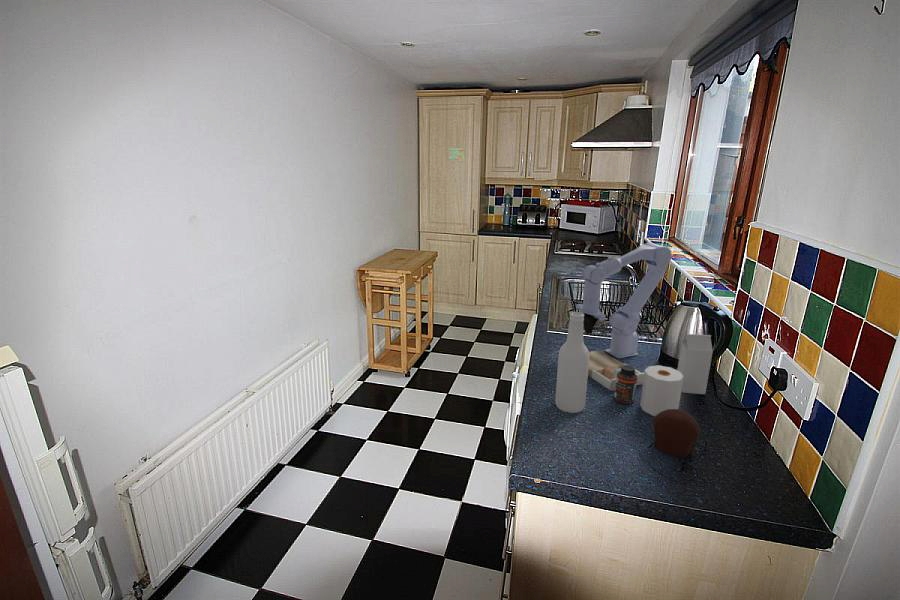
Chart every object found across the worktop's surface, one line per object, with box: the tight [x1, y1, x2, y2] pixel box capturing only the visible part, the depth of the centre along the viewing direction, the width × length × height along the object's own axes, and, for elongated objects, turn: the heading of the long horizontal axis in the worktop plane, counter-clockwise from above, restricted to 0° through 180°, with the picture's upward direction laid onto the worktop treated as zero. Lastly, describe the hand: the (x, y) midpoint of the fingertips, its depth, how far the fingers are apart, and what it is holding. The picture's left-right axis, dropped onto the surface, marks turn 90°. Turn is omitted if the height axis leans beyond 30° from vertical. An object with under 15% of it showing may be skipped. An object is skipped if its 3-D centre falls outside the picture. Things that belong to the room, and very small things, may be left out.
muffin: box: [651, 408, 702, 458], centre depth 116 cm, size 12×11×10 cm
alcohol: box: [554, 311, 590, 414], centre depth 133 cm, size 9×9×30 cm
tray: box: [591, 363, 644, 392], centre depth 152 cm, size 14×10×4 cm
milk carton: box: [676, 333, 713, 395], centre depth 144 cm, size 7×7×19 cm
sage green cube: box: [613, 368, 621, 379], centre depth 151 cm, size 4×4×3 cm
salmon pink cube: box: [604, 366, 619, 380], centre depth 154 cm, size 4×4×3 cm
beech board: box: [588, 349, 625, 379], centre depth 163 cm, size 14×14×2 cm
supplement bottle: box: [613, 364, 637, 405], centre depth 139 cm, size 6×6×11 cm
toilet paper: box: [639, 364, 684, 417], centre depth 134 cm, size 10×10×12 cm
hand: (588, 332), depth 169 cm, fingers closed
